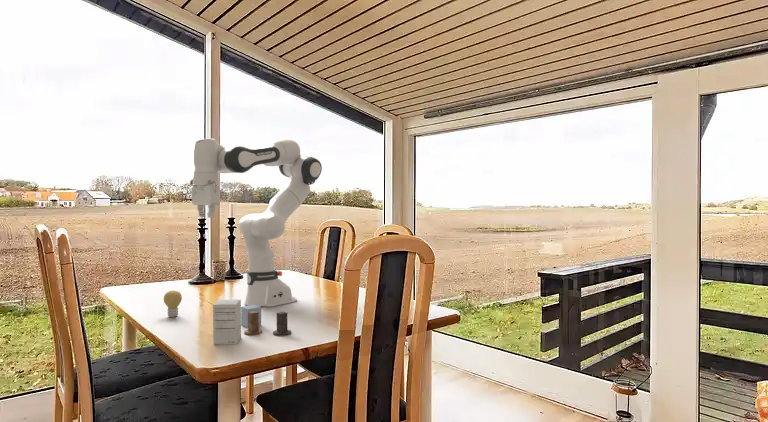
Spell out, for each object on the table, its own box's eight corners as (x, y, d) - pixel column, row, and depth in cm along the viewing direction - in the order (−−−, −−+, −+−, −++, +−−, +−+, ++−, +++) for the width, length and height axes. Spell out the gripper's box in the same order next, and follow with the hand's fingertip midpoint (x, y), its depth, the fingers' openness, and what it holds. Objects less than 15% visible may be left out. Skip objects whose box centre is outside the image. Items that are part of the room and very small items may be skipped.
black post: (285, 330, 169) (285, 309, 169) (294, 333, 165) (294, 313, 164) (269, 333, 165) (269, 312, 165) (278, 337, 161) (278, 315, 160)
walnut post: (257, 329, 170) (257, 309, 170) (265, 333, 165) (265, 312, 165) (241, 332, 166) (240, 311, 166) (248, 336, 161) (248, 315, 161)
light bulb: (175, 318, 185) (175, 292, 185) (160, 318, 187) (159, 291, 186) (185, 314, 192) (185, 289, 191) (170, 314, 193) (170, 288, 193)
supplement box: (218, 338, 159) (218, 299, 159) (241, 337, 160) (241, 299, 160) (212, 344, 152) (212, 304, 152) (236, 344, 153) (236, 303, 152)
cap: (254, 322, 179) (254, 304, 179) (261, 325, 176) (261, 307, 175) (241, 325, 176) (241, 306, 176) (247, 327, 172) (247, 309, 172)
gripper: (224, 180, 181) (224, 217, 181) (204, 181, 197) (204, 216, 197) (207, 179, 177) (207, 218, 177) (188, 181, 192) (188, 216, 193)
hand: (206, 217), depth 187 cm, fingers open, 8 cm apart
